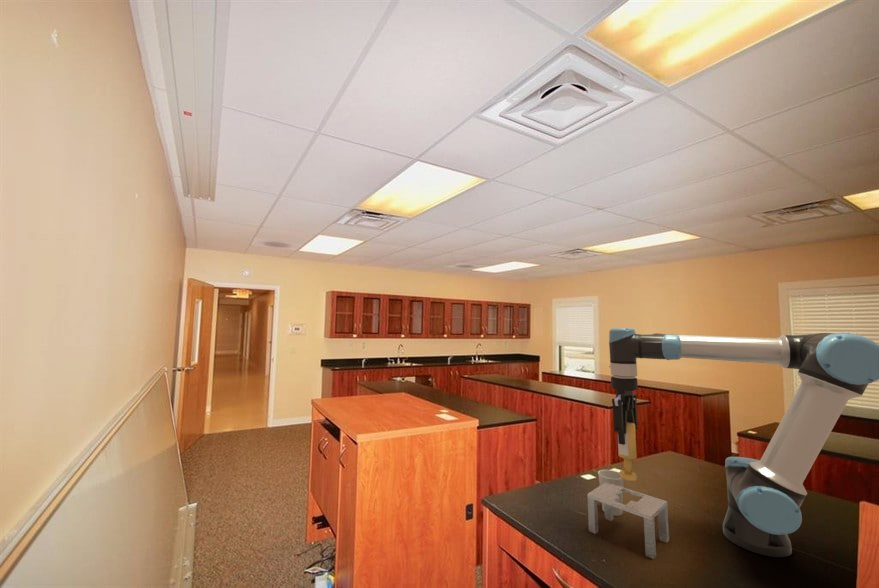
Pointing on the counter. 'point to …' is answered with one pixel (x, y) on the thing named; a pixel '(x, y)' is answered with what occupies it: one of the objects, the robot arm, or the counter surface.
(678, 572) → the counter surface
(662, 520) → the shelf
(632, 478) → the yellow tall stemmed piece
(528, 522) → the counter surface
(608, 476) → the cup
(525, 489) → the counter surface
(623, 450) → the robot arm
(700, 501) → the counter surface
